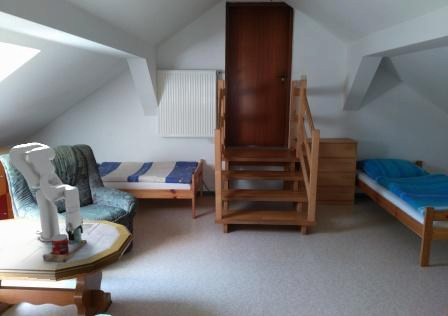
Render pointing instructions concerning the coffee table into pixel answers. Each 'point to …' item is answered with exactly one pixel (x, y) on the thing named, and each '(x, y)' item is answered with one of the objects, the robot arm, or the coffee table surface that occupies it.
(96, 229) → the coffee table surface
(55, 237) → the canned food
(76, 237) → the wooden rectangular frame
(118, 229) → the coffee table surface
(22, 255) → the coffee table surface
